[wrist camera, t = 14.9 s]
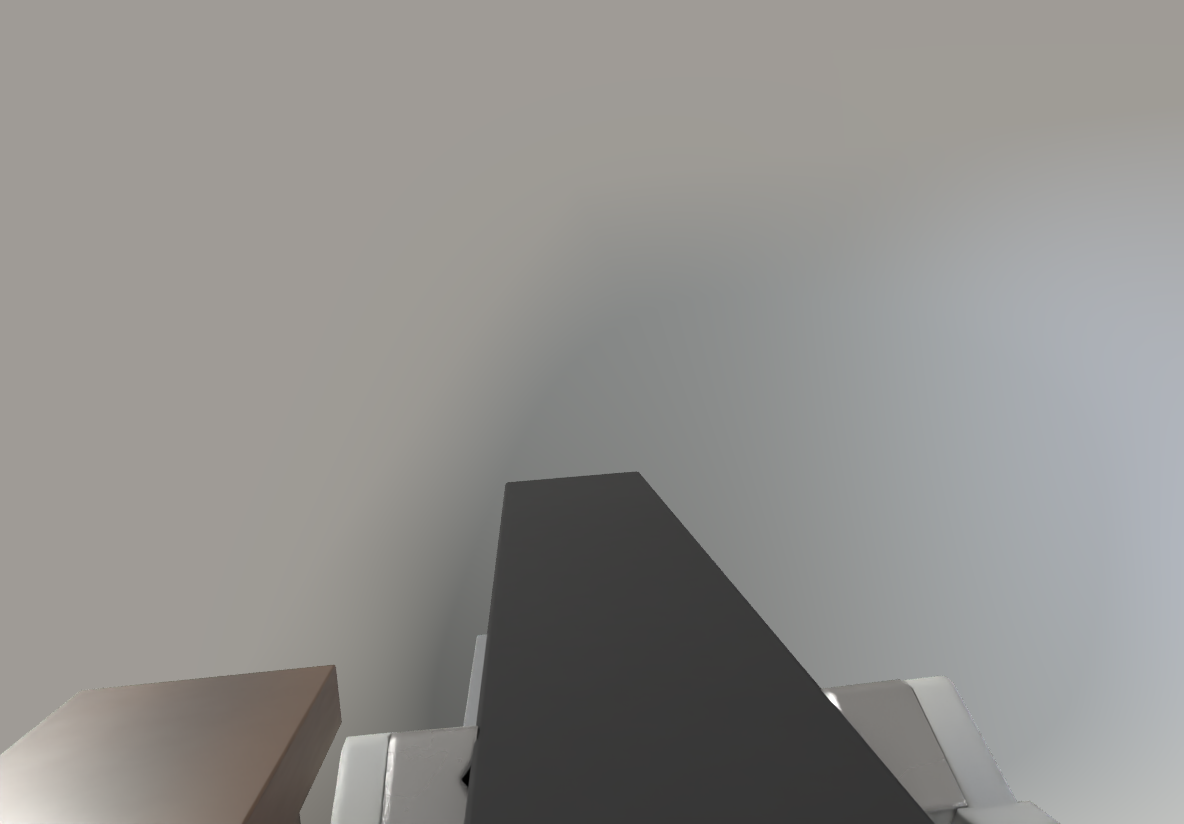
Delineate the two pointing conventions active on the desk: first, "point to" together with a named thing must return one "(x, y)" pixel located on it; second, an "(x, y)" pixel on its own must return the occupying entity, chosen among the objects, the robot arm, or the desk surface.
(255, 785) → the pad stand
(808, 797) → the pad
